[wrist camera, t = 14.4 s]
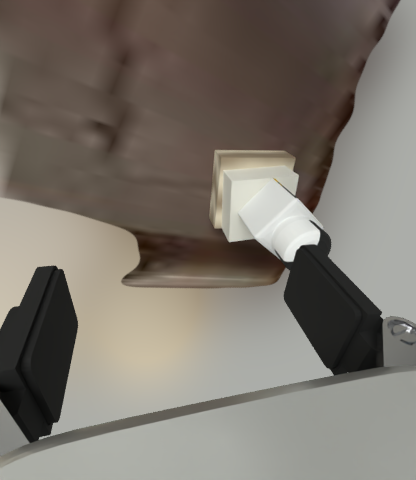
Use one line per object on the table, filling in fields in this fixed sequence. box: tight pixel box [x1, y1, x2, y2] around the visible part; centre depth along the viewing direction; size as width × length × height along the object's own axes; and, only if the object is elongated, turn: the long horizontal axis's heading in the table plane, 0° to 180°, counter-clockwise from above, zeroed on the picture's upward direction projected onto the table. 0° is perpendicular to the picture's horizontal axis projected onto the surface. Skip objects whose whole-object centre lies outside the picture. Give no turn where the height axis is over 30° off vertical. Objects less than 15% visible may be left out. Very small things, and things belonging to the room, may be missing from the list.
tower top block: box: [222, 166, 299, 242], centre depth 43 cm, size 10×10×4 cm
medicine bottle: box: [238, 178, 331, 271], centre depth 37 cm, size 7×7×12 cm
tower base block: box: [209, 150, 296, 228], centre depth 47 cm, size 12×12×4 cm
